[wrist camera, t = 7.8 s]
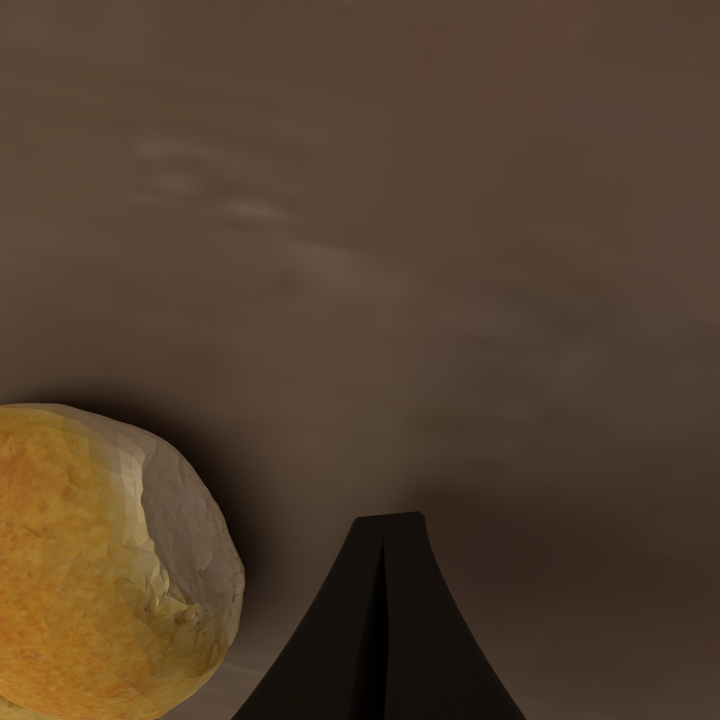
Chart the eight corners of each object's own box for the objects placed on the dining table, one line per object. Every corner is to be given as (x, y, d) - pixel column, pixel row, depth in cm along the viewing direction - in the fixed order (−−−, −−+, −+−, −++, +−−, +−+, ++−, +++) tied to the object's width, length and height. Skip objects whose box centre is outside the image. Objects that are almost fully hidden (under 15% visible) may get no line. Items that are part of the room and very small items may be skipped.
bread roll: (-180, 454, 12) (-429, 585, 9) (142, 342, 11) (4, 447, 7) (16, 685, 15) (-109, 859, 11) (296, 626, 13) (256, 810, 10)
